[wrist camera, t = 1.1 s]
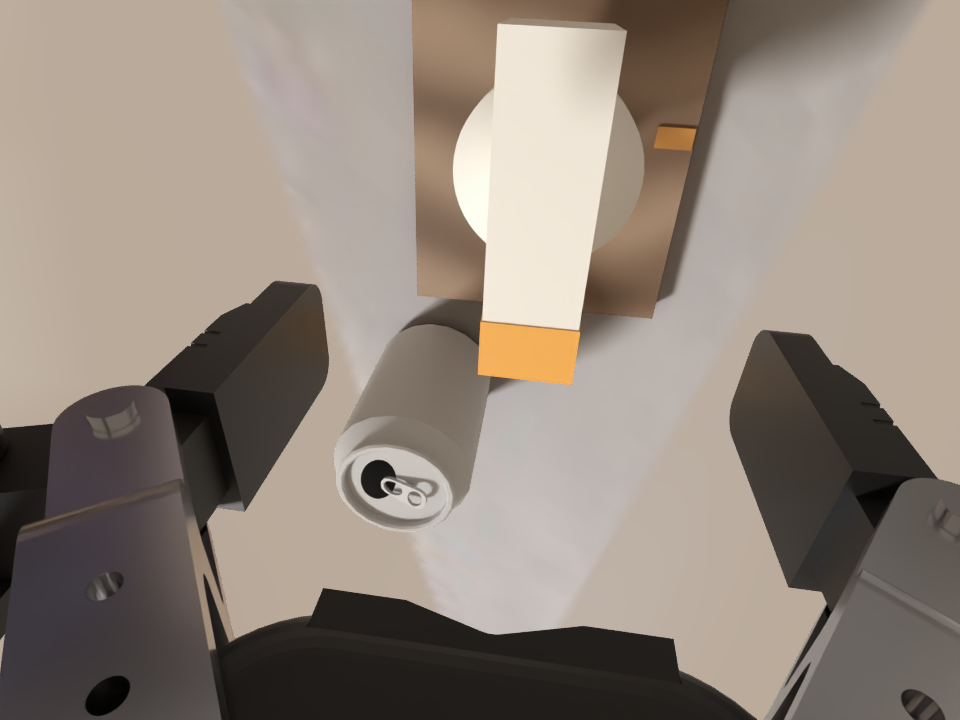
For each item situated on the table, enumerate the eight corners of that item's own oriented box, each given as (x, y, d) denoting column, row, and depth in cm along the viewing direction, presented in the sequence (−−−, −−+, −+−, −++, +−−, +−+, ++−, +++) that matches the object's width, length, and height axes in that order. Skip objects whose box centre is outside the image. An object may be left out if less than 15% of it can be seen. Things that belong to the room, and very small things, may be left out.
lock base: (417, -134, 25) (366, -177, 18) (749, -122, 23) (815, -165, 17) (422, 284, 36) (391, 346, 29) (649, 306, 34) (667, 376, 28)
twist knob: (466, 10, 21) (413, 18, 13) (662, 21, 20) (716, 35, 13) (460, 265, 26) (419, 368, 19) (613, 280, 25) (632, 391, 18)
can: (395, 303, 37) (331, 419, 27) (506, 337, 37) (484, 465, 27) (376, 391, 41) (314, 520, 31) (476, 421, 41) (446, 559, 31)
